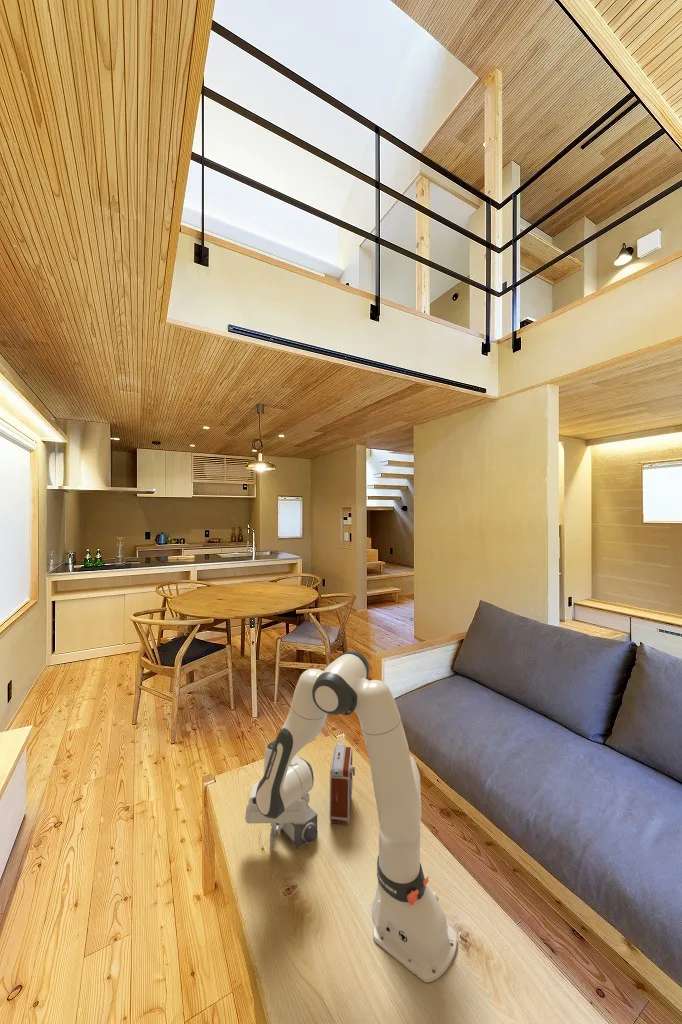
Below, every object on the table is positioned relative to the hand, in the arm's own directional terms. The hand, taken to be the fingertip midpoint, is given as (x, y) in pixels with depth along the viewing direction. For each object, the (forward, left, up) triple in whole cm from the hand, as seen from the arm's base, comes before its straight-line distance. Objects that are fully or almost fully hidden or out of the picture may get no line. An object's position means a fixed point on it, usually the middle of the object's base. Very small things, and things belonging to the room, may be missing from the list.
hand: (277, 833), depth 121 cm
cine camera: (-1, -27, -5) cm, 28 cm away
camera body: (-1, -8, -4) cm, 9 cm away
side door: (+3, 0, -4) cm, 4 cm away
